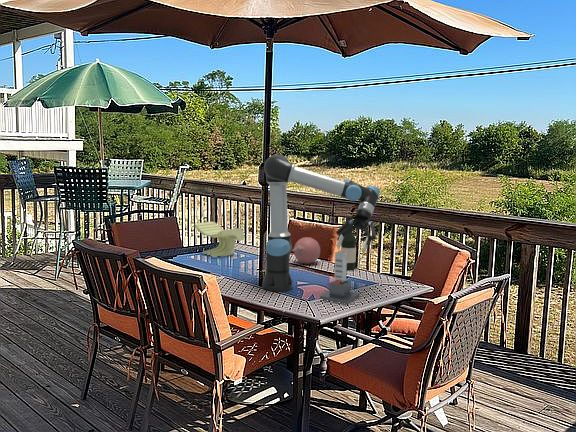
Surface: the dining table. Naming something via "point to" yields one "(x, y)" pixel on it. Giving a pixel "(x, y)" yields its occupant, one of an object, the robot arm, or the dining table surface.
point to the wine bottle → (349, 248)
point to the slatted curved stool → (220, 238)
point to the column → (340, 266)
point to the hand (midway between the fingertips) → (350, 248)
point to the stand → (340, 293)
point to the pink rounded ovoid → (306, 250)
